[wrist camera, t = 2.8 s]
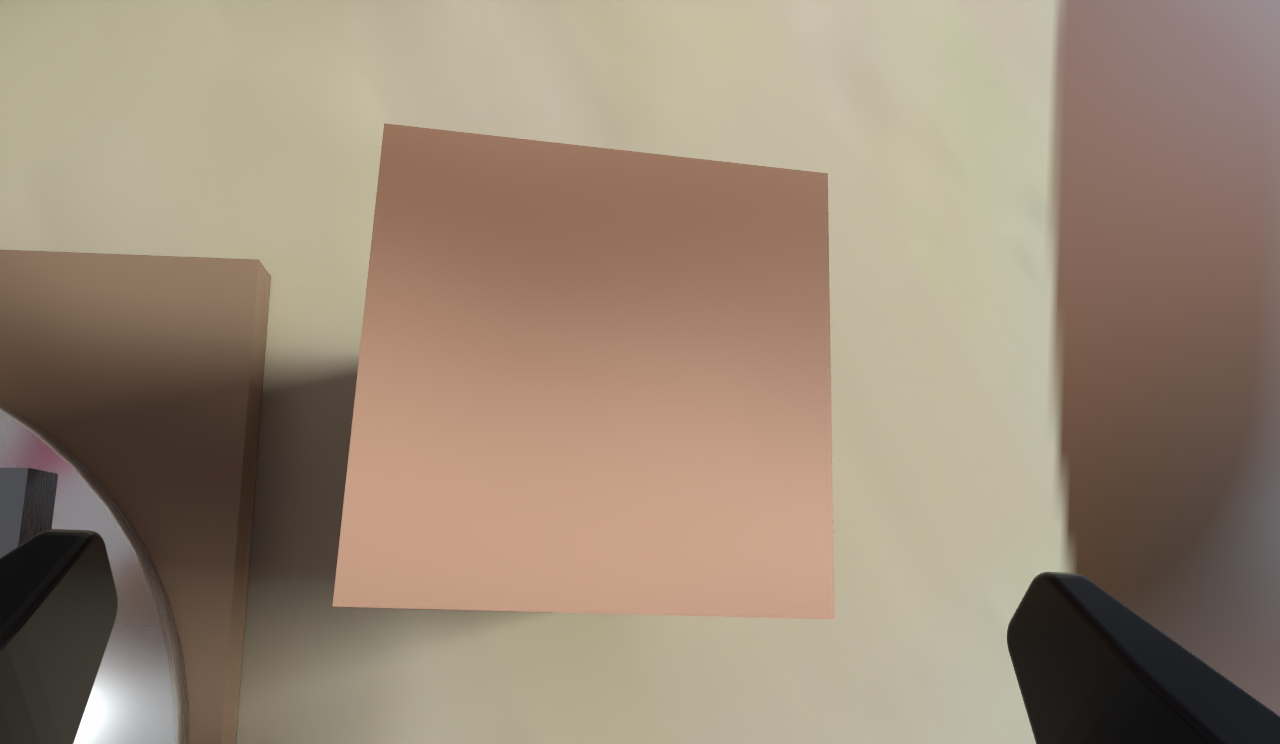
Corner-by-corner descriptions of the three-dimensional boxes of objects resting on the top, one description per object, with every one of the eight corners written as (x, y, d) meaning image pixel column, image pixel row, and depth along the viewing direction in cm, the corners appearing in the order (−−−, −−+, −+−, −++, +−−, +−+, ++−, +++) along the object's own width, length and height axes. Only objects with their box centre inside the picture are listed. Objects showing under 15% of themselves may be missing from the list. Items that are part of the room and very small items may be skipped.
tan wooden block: (643, 588, 18) (834, 619, 8) (418, 581, 17) (332, 606, 7) (650, 373, 19) (827, 173, 9) (438, 358, 18) (383, 122, 8)
